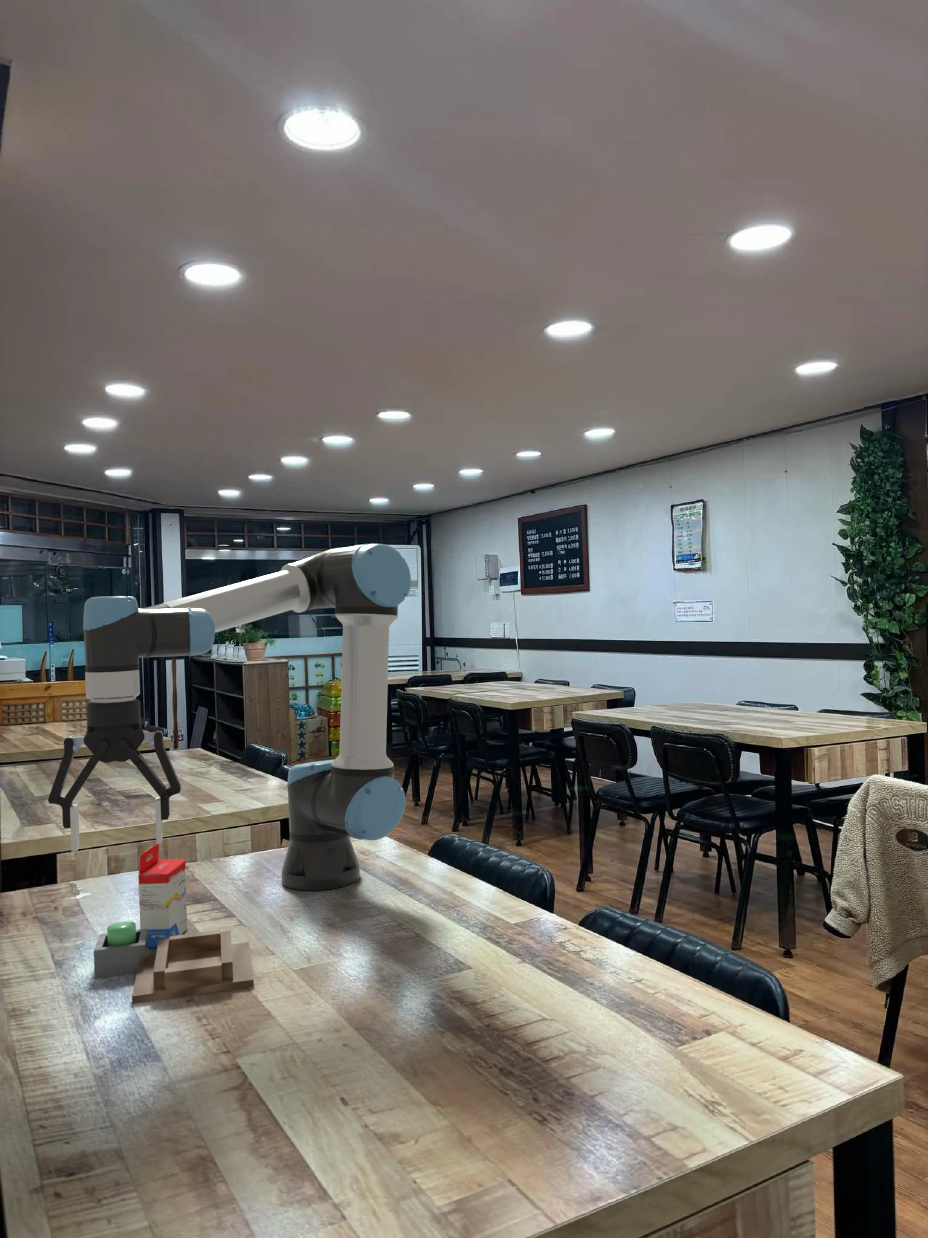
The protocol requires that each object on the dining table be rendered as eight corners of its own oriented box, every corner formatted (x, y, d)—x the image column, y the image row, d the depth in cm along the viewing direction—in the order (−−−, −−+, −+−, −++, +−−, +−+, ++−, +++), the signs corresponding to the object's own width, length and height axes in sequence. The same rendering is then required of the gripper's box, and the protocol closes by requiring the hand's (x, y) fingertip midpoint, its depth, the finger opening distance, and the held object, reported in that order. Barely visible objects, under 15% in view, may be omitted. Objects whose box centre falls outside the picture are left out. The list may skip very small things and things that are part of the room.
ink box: (170, 948, 140) (167, 855, 140) (139, 948, 140) (136, 855, 140) (188, 928, 148) (185, 841, 148) (159, 929, 149) (156, 842, 148)
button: (137, 938, 136) (136, 920, 136) (135, 947, 132) (134, 928, 132) (109, 941, 134) (108, 923, 134) (106, 951, 131) (105, 932, 131)
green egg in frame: (148, 954, 137) (148, 928, 137) (145, 971, 131) (144, 944, 131) (100, 960, 136) (99, 934, 135) (94, 978, 129) (93, 951, 129)
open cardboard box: (249, 948, 139) (248, 926, 139) (253, 986, 124) (253, 962, 124) (140, 962, 134) (139, 939, 134) (132, 1003, 120) (131, 978, 120)
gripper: (195, 693, 140) (200, 832, 140) (32, 701, 133) (37, 847, 133) (194, 697, 132) (199, 843, 133) (22, 706, 126) (27, 860, 126)
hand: (118, 845), depth 133 cm, fingers open, 11 cm apart
